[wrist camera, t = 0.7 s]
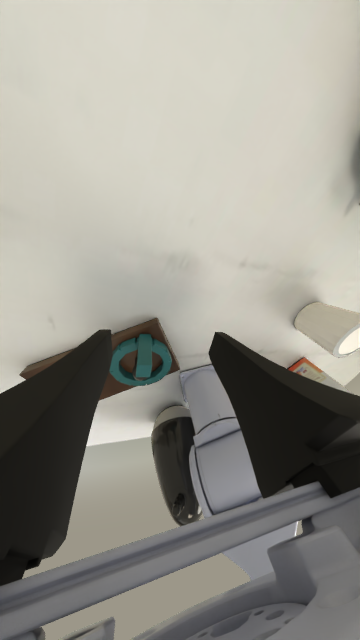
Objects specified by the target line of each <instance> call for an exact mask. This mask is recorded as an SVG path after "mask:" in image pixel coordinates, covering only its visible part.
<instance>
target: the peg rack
mask: <svg viewBox="0 0 360 640" xmlns="http://www.w3.org/2000/svg"><path fill="white" fill-rule="evenodd" d="M140 334H151V338H152V339H156V340H158V341H160V342H161V343H163V344H165V346H167V348H168V350H169V352H170V354H171V359H172V363H171V367H170V371H168V373H167V374H166V375H168V374H170V373H173V372H176V371H178V370H180V368H179V364H178V361H177V359H176V357H175V355H174V353H173V351H172V348H171V346H170V344H169V342H168V340H167V338H166V335H165V333H164V331H163V329H162V327H161V325H160V323H159V320H158V318H156V319H153V320H150V321H148V322H145V323H142V324H140V325H137V326H134V327H131V328H129V329H126V330H123V331H121V332H118V333H115V334H113V335H111V340H112V351H114V350H115V349H116V347H117V346H118V345H119V344H121V343H122V342H124V341H127V340H130V339H132V338H136V339H137V337H139V335H140ZM73 350H74V349H72V350H70V351H67V352H64V353H62V354H59V355H56V356H53V357H51V358H48V359H45V360H43V361H40V362H37V363H35V364H32V365H29V366H27V367H26V368H25V369H24V370H23V371H22V372H21V373H20V374H19V375H20V376H21V377H23V378H24V379H26V380H27V379H29V378H31V377H32V376H34V375H36V374H37V373H39V372H41V371H42V370H44V369H46V368H47V367H49V366H50V365H52V364H54V363H55V362H57V361H58V360H59V359H61V358H62V357H64V356H65V355H67V354H68V353H70V352H71V351H73ZM137 355H138V350H135V351H132V352H130V353H127V354H125V355H124V357H123V358H122V359H121V360H120V365H121V366H122V367H123V368H124V370H125V371H127V372H130V373H132V374H133V377H134V378H135V379H136V380H139V381H142V380H145V379H146V378H148V377H136V366H137ZM161 364H162V358H161V356H160V355H159V354H157V353H155V352H153V351H152V369H151V372H153V371H155V370H156V369H157V368H158V367H159V366H160V365H161ZM133 387H136V386H133V384H132V385H131V386H130V385H127V384H124V383H121V382H119V380H118V381H117V380H116V379H115V378H114V377H113V375H112V374H111V373H110V371H109V373H108V376H107V379H106V382H105V384H104V387H103V390H102V393H101V395H100V398H99V400H102V399H104V398H107V397H110V396H112V395H115V394H118V393H120V392H123V391H126V390H128V389H131V388H133Z"/></svg>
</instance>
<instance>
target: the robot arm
mask: <svg viewBox="0 0 360 640" xmlns="http://www.w3.org/2000/svg"><path fill="white" fill-rule="evenodd" d="M209 356H210V359H211V362H212V365H208V366H205V367H201V368H197V369H193V370H189V371H185V372H181V373H180V374H179V375H180V380H181V385H182V390H183V396H184V401H185V402H188V405H189V409H190V414H191V418H192V422H193V426H194V430H195V434H196V435H195V436H193V439H194V443H195V445H192V447H191V451H190V454H189V465H190V472H191V478H192V483H193V487H194V491H195V494H196V497H197V500H198V503H199V505H200V507H201V509H202V512H203V515H204V518H205V519H202V520H199V521H196V522H193V523H190V524H187V525H184V526H181V527H178V528H175V529H172V530H169V531H165V532H162V533H159V534H156V535H153V536H150V537H147V538H144V539H141V540H139V541H135V542H132V543H129V544H126V545H123V546H120V547H117V548H114V549H111V550H108V551H105V552H102V553H99V554H96V555H93V556H90V557H87V558H84V559H81V560H78V561H75V562H72V563H69V564H66V565H63V566H60V567H57V568H54V569H51V570H48V571H45V572H42V573H39V574H36V575H33V576H30V577H27V578H24V579H22V577H23V574H24V572H25V570H28V569H31V568H34V567H37V566H39V564H40V562H41V560H42V559H45V558H48V557H51V556H53V554H55V553H56V551H57V550H58V549H59V547H60V546H61V545H62V543H63V542H64V540H65V539H66V535H67V530H68V525H69V520H70V515H71V511H72V506H73V501H74V496H75V492H76V487H77V483H78V478H79V474H80V470H81V465H82V461H83V457H84V453H85V448H86V444H87V440H88V436H89V432H90V428H91V424H92V420H93V417H94V413H95V410H96V407H97V404H98V401H99V398H100V395H101V393H102V390H103V387H104V384H105V382H106V379H107V376H108V373H109V370H110V366H111V362H112V357H113V351H112V340H111V330H99V331H97V332H96V333H95V334H94V335H92V336H91V337H90V338H88V339H87V340H86V341H85V342H83V343H82V344H81V345H79V346H78V347H77V348H75V349H74V350H73V351H71V352H70V353H68V354H67V355H65V356H64V357H62V358H61V359H59V360H58V361H57V362H55V363H54V364H52V365H50V366H49V367H47V368H46V369H44V370H42V371H41V372H39V373H37V374H36V375H34V376H32V377H31V378H29V379H27V380H25V381H24V382H22V383H20V384H18V385H16V386H14V387H12V388H10V389H8V390H7V391H5V392H3V393H1V394H0V640H45V632H44V630H43V629H42V627H40V626H43V625H45V624H48V623H50V622H53V621H55V620H58V619H60V618H63V617H65V616H68V615H70V614H72V613H75V612H77V611H80V610H82V609H85V608H87V607H90V606H92V605H94V604H97V603H99V602H102V601H104V600H106V599H109V598H112V597H114V596H116V595H119V594H121V593H124V592H126V591H129V590H131V589H134V588H136V587H138V586H141V585H143V584H146V583H148V582H151V581H153V580H155V579H158V578H160V577H163V576H165V575H168V574H170V573H173V572H175V571H178V570H180V569H182V568H185V567H187V566H190V565H192V564H195V563H197V562H200V561H202V560H204V559H207V558H209V557H212V556H214V555H217V554H219V553H223V554H224V555H225V556H227V557H228V558H229V559H231V560H232V561H233V562H234V563H236V564H237V565H238V566H239V567H241V568H242V569H243V570H244V571H245V572H246V573H247V574H248V575H249V577H250V579H251V581H250V582H247V583H245V584H243V585H240V586H238V587H235V588H233V589H231V590H229V591H226V592H224V593H221V594H219V595H217V596H215V597H212V598H210V599H208V600H206V601H203V602H201V603H199V604H197V605H195V606H193V607H191V608H189V609H187V610H185V611H182V612H180V613H178V614H176V615H174V616H173V617H171V618H169V619H167V620H165V621H163V622H161V623H159V624H157V625H156V626H154V627H152V628H150V629H148V630H146V631H145V632H143V633H141V634H139V635H137V636H135V637H134V638H132V639H130V640H360V396H357V395H354V394H351V393H348V392H345V391H342V390H339V389H336V388H333V387H330V386H327V385H325V384H322V383H319V382H317V381H314V380H312V379H309V378H307V377H304V376H302V375H300V374H297V373H295V372H293V371H290V370H288V369H286V368H284V367H282V366H280V365H278V364H276V363H274V362H272V361H270V360H268V359H266V358H265V357H263V356H261V355H259V354H258V353H256V352H254V351H253V350H251V349H249V348H248V347H246V346H245V345H243V344H241V343H240V342H238V341H237V340H235V339H234V338H232V337H230V336H229V335H227V334H225V333H223V332H215V335H214V338H213V341H212V344H211V347H210V350H209ZM302 519H303V520H302ZM300 520H302V528H303V533H302V534H301V535H298V536H296V531H297V523H298V521H300ZM114 628H115V620H114V618H113V617H110V618H107V619H105V620H102V621H100V622H97V623H94V624H92V625H89V626H86V627H84V628H82V629H79V630H77V631H75V632H73V633H71V634H68V635H66V636H64V637H63V638H61V639H59V640H113V639H114Z"/></svg>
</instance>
